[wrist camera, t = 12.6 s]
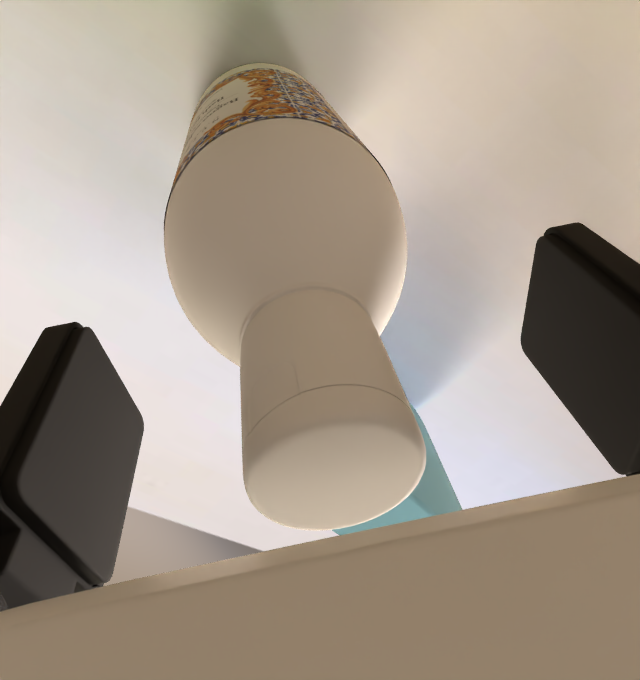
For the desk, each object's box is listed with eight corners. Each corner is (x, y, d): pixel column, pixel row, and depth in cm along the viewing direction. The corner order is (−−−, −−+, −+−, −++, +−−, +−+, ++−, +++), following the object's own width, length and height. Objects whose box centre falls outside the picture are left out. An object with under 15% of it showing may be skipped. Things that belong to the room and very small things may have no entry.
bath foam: (261, 21, 20) (382, 149, 4) (360, 143, 24) (621, 453, 8) (160, 140, 22) (-11, 517, 6) (265, 234, 26) (321, 620, 10)
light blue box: (282, 357, 31) (305, 516, 22) (336, 320, 30) (385, 471, 21) (372, 440, 38) (420, 589, 29) (419, 412, 37) (485, 558, 27)
